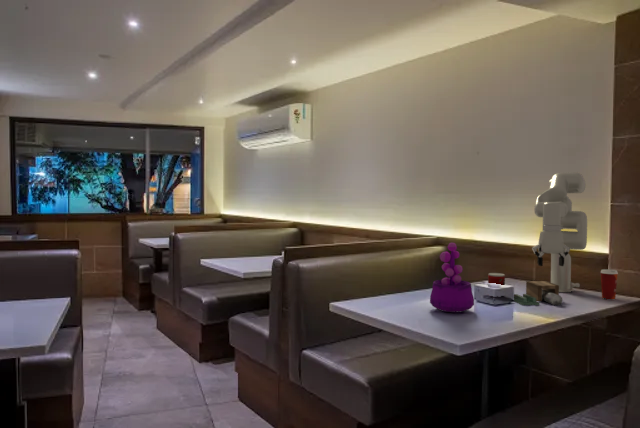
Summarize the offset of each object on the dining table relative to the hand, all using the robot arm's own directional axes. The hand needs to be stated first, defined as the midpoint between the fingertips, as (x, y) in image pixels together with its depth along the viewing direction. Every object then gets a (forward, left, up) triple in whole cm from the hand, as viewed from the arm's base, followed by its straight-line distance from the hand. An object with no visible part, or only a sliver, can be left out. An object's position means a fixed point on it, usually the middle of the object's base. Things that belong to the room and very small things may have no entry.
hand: (550, 265), depth 231 cm
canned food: (+17, -20, -18) cm, 32 cm away
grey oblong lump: (-2, -4, -18) cm, 19 cm away
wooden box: (-2, -11, -18) cm, 21 cm away
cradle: (+10, -4, -18) cm, 21 cm away
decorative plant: (+50, +11, -18) cm, 55 cm away
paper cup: (-35, -10, -18) cm, 40 cm away
